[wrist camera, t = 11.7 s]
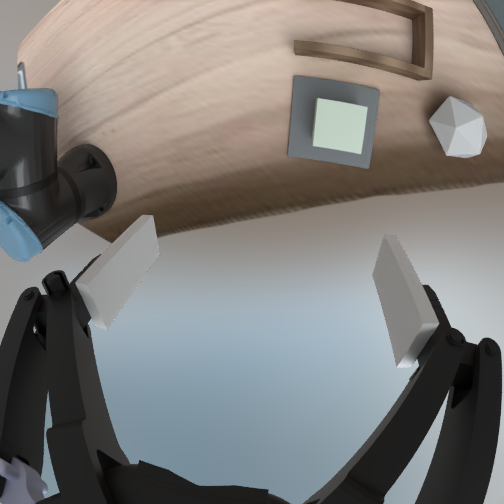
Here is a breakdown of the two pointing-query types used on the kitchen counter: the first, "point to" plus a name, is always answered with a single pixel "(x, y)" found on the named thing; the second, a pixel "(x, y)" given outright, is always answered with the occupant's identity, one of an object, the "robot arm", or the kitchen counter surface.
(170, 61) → the kitchen counter surface
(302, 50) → the brown u-shaped bracket
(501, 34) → the toaster
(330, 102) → the block
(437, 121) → the die
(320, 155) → the mat
